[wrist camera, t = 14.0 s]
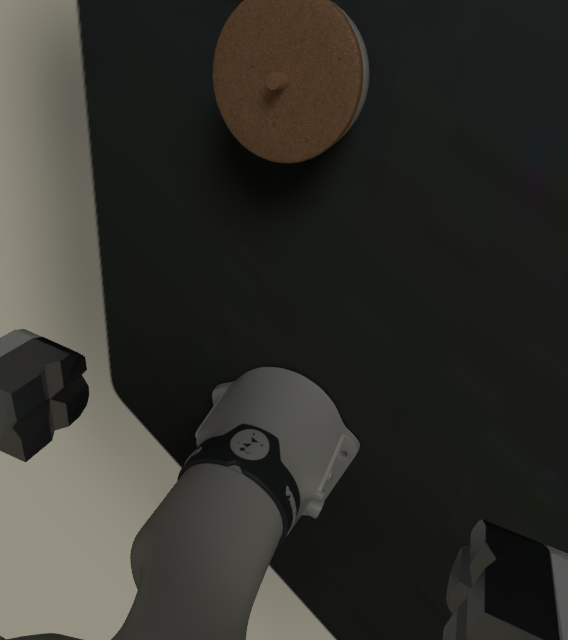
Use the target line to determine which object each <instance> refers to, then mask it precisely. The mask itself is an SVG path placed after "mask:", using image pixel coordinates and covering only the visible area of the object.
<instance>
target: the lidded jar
mask: <svg viewBox="0 0 568 640" xmlns="http://www.w3.org/2000/svg"><path fill="white" fill-rule="evenodd" d="M213 83H214V91H215V96H216V101H217V104H218V107H219V110H220V113H221V115H222V117H223V119H224V121H225V123H226V125H227V127H228V128H229V130H230V131H231V133H232V134H233V136H234V137H235V138H236V139H237V140H238V141H239V142H240V144H242V145H243V146H244V147H245V148H246V149H248V150H249V151H250V152H252V153H253V154H255V155H257V156H258V157H261V158H263V159H266V160H268V161H272V162H276V163H288V164H291V163H298V162H303V161H306V160H309V159H312V158H314V157H316V156H318V155H320V154H322V153H323V152H325V151H326V150H328V149H329V148H330V147H331V146H333V145H334V144H335V143H336V142H338V141H339V140H340V139H341V138H342V137H343V136H344V135H345V134H346V133H347V132H348V131H349V130H350V128H351V127H352V125H353V124H354V123H355V121H356V120H357V118H358V116H359V114H360V112H361V110H362V108H363V105H364V102H365V99H366V96H367V91H368V86H369V61H368V56H367V51H366V47H365V44H364V42H363V39H362V36H361V34H360V32H359V31H358V29H357V27H356V26H355V24H354V23H353V21H352V20H351V19H350V18H349V17H348V15H347V14H346V13H345V12H344V11H343V10H342V9H341V8H340V7H338V6H337V5H336V4H335V3H333V2H332V1H331V0H244V1H243V2H241V3H240V4H239V6H238V7H237V8H236V9H235V10H234V11H233V12H232V14H231V15H230V17H229V18H228V20H227V22H226V23H225V25H224V27H223V29H222V32H221V34H220V36H219V39H218V43H217V46H216V49H215V55H214V62H213Z"/></svg>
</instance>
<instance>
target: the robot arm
mask: <svg viewBox="0 0 568 640" xmlns="http://www.w3.org/2000/svg"><path fill="white" fill-rule="evenodd" d="M86 370H87V368H86V361H85V357H84V356H83V355H81V354H79V353H78V352H75V351H73V350H71V349H69V348H66V347H64V346H62V345H59V344H58V343H55V342H53V341H51V340H48V339H46V338H44V337H41V336H39V335H37V334H34V333H32V332H30V331H27V330H25V329H21V330H14V331H12V332H10V333H8V334H7V335H5V336H3V337H1V338H0V451H2V452H5V453H7V454H9V455H11V456H13V457H16V458H18V459H20V460H22V461H24V462H27V461H28V460H29V459H30V458H31V457H33V456H34V455H35V454H36V453H38V452H39V451H40V450H41V449H42V448H43V447H45V446H46V445H47V444H48V443H49V442H51V441H52V438H53V435H54V431H55V430H57V429H61V428H65V427H68V426H70V425H71V424H72V423H73V422H74V421H75V420H76V419H77V418H79V416H80V415H81V413H82V412H83V410H84V409H85V407H86V405H87V402H88V397H89V387H88V384H87V383H86V381H85V379H84V378H83V376H82V374H83V373H84V372H85V371H86ZM212 399H213V408H212V409H211V411H210V412H209V414H208V415H207V417H206V418H205V419H204V421H203V422H202V424H201V425H200V427H199V428H198V430H197V432H196V434H195V437H196V438H197V440H196V443H197V449H196V450H195V451H194V452H193V453H192V454H191V455H190V456H189V458H188V459H187V460H186V462H185V464H184V466H183V468H182V469H181V471H180V473H179V476H178V481H177V483H176V484H175V485H174V487H173V488H172V489H171V490H170V492H169V493H168V494H167V496H166V497H165V498H164V500H163V501H162V502H161V504H160V505H159V506H158V508H157V509H156V510H155V511H154V513H153V514H152V515H151V517H150V518H149V519H148V520H147V522H146V523H145V524H144V526H143V527H142V528H141V530H140V531H139V532H138V534H137V536H136V537H135V540H134V542H133V545H132V549H131V568H132V573H133V578H134V581H135V584H136V586H137V589H138V592H137V594H136V597H135V600H134V603H133V605H132V608H131V610H130V612H129V614H128V616H127V618H126V620H125V623H124V624H123V626H122V627H121V629H120V630H119V631H118V633H117V634H116V635H115V636H114V637H113V638H112V639H111V640H246V631H247V625H248V620H249V616H250V612H251V609H252V606H253V603H254V600H255V598H256V595H257V592H258V590H259V587H260V585H261V582H262V580H263V577H264V575H265V572H266V570H267V568H268V566H269V563H270V561H271V558H272V556H273V554H274V552H275V549H276V547H277V546H279V545H280V544H281V543H282V542H283V541H284V539H285V538H286V536H287V535H288V533H289V532H290V530H291V529H292V528H293V526H294V525H295V524H296V522H297V521H298V519H299V518H300V516H301V515H310V516H311V517H313V518H317V517H318V515H319V513H320V511H321V509H322V507H323V504H324V501H325V499H326V498H327V496H328V495H329V493H330V492H331V490H332V489H333V487H334V486H335V485H336V483H337V482H338V480H339V479H340V477H341V476H342V474H343V473H344V471H345V470H346V469H347V467H348V466H349V464H350V463H351V461H352V460H353V458H354V457H355V455H356V454H357V452H358V450H359V448H360V443H359V441H358V440H357V438H356V437H355V436H354V435H353V434H352V433H351V432H350V431H349V430H348V429H347V428H346V427H345V425H344V424H343V422H342V420H341V417H340V415H339V413H338V411H337V409H336V407H335V405H334V403H333V402H332V401H331V399H330V398H329V397H328V395H327V394H326V393H325V392H324V391H323V390H322V389H321V388H320V387H318V386H317V385H316V384H315V383H313V382H312V381H311V380H309V379H307V378H306V377H304V376H302V375H300V374H298V373H295V372H293V371H290V370H286V369H282V368H276V367H262V368H257V369H253V370H251V371H248V372H246V373H245V374H243V375H242V376H241V377H239V378H238V379H237V380H235V381H233V382H229V383H223V384H219V385H217V386H216V387H215V389H214V390H213V392H212ZM343 451H345V452H346V453H345V452H343ZM446 602H447V604H448V606H449V608H450V611H451V613H452V617H451V618H450V620H449V621H448V623H447V624H446V626H445V627H444V633H443V640H568V554H567V553H564V552H562V551H559V550H557V549H554V548H552V547H549V546H547V545H543V544H542V543H540V542H538V541H535V540H533V539H530V538H528V537H525V536H523V535H520V534H518V533H515V532H513V531H510V530H508V529H505V528H503V527H500V526H498V525H495V524H493V523H490V522H488V521H485V520H483V519H482V520H480V521H479V522H478V523H477V524H476V525H475V527H474V528H473V530H472V532H471V545H469V546H465V547H462V548H461V550H460V552H459V553H458V555H457V557H456V559H455V562H454V565H453V567H452V570H451V573H450V578H449V583H448V590H447V600H446ZM0 640H6V639H4V638H3V637H1V636H0ZM7 640H82V639H78V638H73V637H69V636H64V635H61V634H54V633H48V634H38V635H30V636H22V637H18V638H12V639H7Z"/></svg>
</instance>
